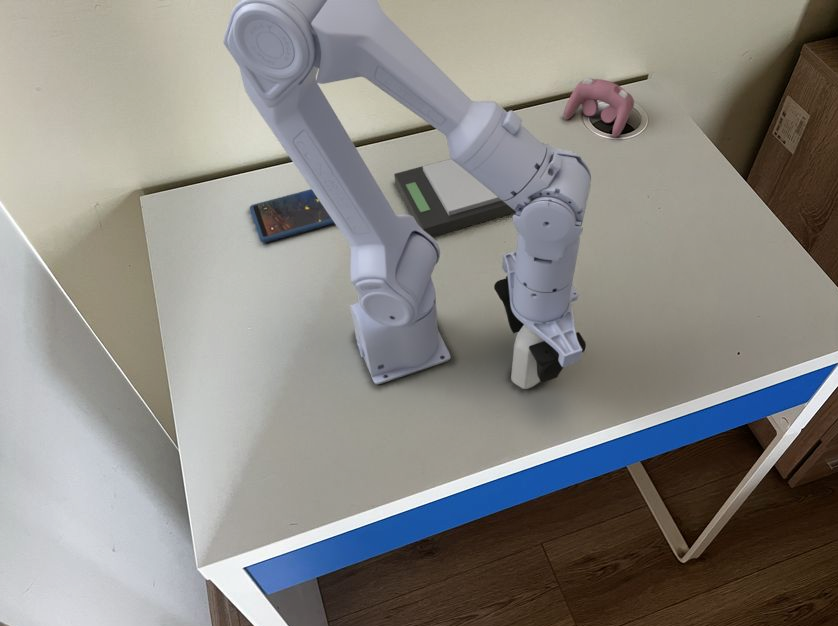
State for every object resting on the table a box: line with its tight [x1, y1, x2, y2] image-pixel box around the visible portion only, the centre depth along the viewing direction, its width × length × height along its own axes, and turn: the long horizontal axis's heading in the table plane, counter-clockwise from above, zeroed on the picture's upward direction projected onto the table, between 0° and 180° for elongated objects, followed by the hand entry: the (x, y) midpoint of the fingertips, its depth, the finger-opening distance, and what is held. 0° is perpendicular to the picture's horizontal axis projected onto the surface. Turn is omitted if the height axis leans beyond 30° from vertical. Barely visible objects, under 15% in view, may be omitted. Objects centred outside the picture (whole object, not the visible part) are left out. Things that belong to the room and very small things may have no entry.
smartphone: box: [249, 188, 335, 244], centre depth 97 cm, size 8×1×15 cm
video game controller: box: [563, 78, 635, 138], centre depth 108 cm, size 10×5×7 cm, turn 58°
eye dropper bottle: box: [510, 324, 544, 390], centre depth 77 cm, size 4×6×12 cm
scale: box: [393, 158, 516, 238], centre depth 98 cm, size 14×12×3 cm
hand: (533, 352), depth 79 cm, fingers open, 7 cm apart
